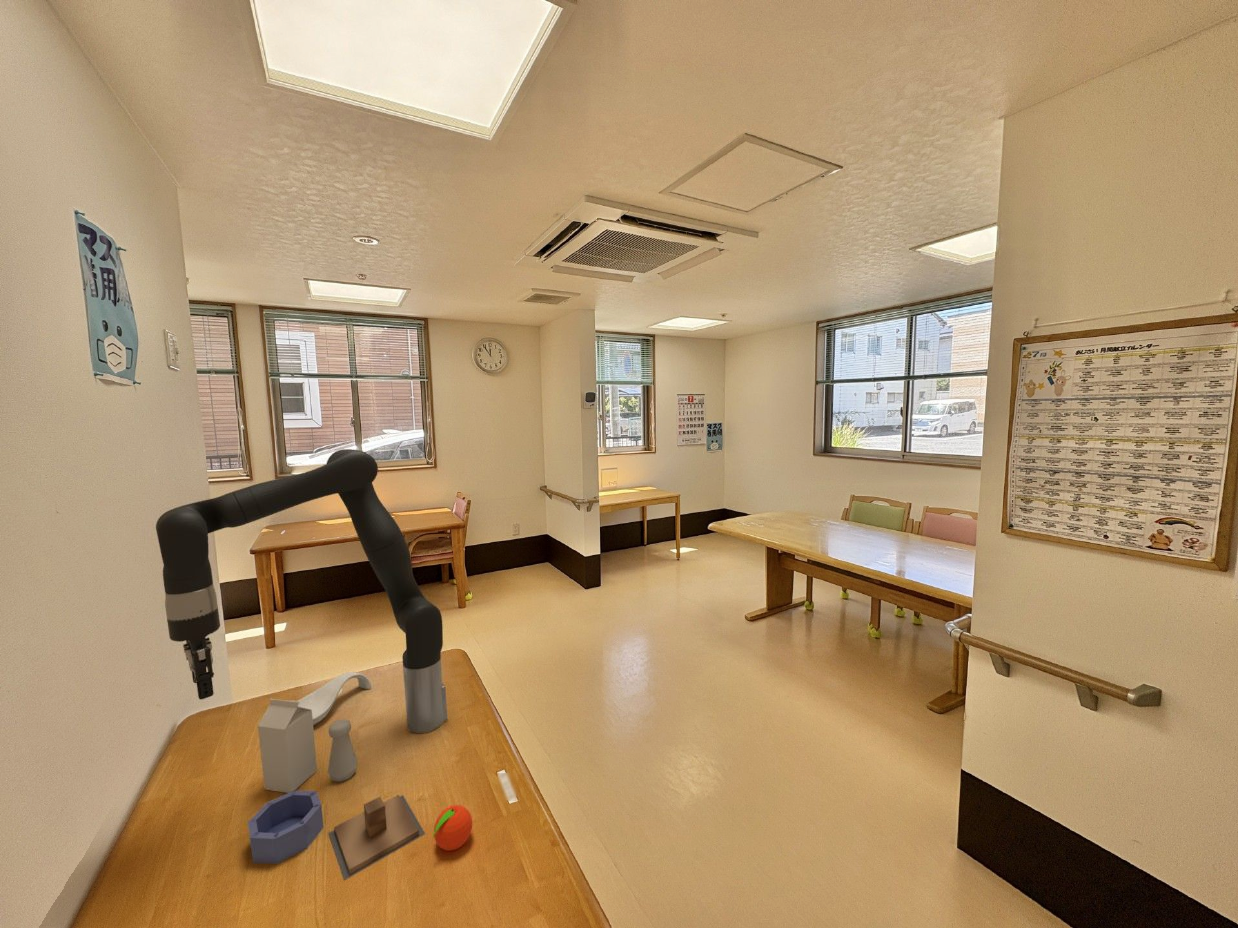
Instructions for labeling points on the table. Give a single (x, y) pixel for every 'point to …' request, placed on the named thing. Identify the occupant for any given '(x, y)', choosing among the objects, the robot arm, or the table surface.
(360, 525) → the robot arm
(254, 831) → the bowl
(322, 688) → the spoon rest
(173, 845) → the table surface
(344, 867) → the mat
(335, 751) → the salt shaker
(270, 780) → the milk carton
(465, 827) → the clementine
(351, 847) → the lid
